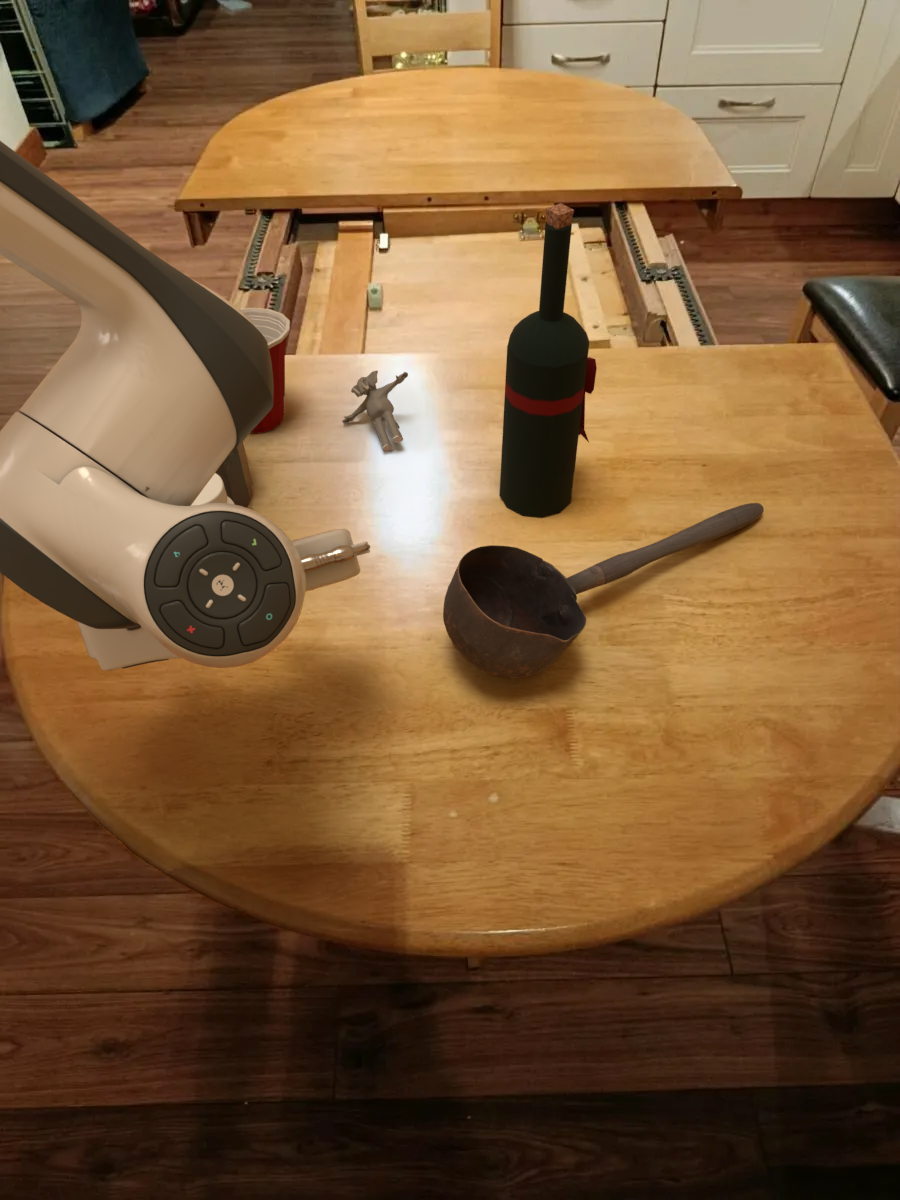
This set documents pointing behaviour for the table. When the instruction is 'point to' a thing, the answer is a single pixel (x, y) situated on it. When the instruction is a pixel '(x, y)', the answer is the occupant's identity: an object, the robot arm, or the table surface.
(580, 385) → the wine bottle
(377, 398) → the elephant figurine
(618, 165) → the table surface
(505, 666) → the ladle
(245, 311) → the plastic cup
